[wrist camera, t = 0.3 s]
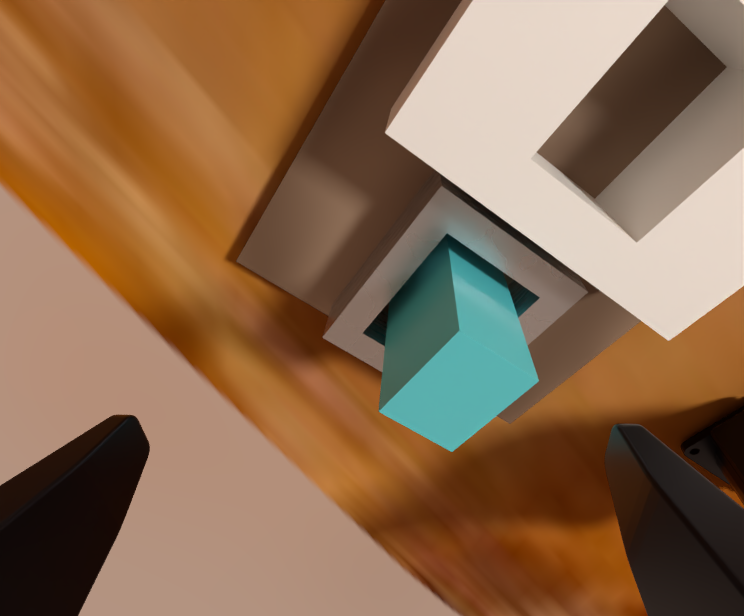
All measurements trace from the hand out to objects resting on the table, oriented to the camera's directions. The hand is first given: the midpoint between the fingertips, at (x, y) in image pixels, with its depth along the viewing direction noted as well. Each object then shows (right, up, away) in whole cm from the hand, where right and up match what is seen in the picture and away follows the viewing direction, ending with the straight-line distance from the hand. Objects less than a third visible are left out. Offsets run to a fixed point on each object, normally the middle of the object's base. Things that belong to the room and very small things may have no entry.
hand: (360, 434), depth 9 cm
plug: (+3, +3, +11) cm, 12 cm away
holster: (+3, +3, +11) cm, 12 cm away
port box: (+8, +9, +7) cm, 14 cm away
